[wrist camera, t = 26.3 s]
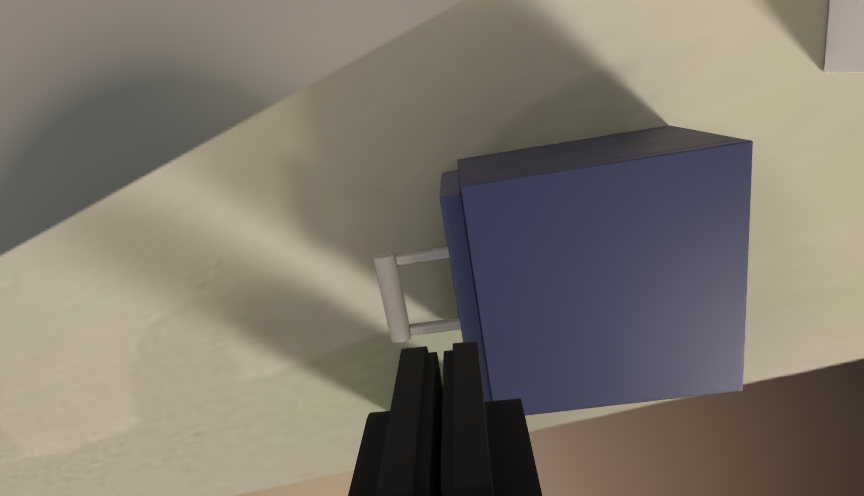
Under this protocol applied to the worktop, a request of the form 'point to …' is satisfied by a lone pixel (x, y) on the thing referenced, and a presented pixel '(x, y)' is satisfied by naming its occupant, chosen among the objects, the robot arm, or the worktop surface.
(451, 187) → the drawer
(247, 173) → the worktop surface
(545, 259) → the cabinet
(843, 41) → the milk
